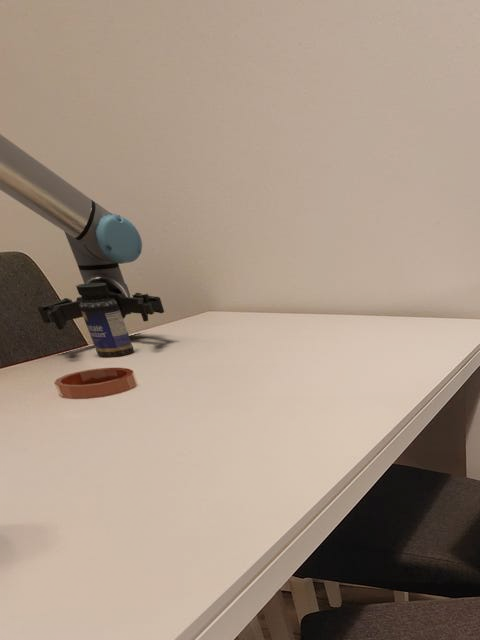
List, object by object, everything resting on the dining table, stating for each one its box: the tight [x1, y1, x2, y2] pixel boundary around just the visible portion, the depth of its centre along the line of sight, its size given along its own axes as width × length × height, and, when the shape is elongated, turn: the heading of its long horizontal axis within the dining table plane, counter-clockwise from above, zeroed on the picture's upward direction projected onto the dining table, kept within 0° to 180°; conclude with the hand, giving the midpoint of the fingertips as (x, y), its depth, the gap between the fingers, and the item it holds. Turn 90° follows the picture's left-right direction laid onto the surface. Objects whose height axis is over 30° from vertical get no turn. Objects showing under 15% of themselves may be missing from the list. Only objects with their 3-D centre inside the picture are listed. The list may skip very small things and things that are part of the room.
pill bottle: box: [75, 283, 134, 358], centre depth 105 cm, size 6×6×11 cm
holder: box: [54, 367, 139, 400], centre depth 83 cm, size 10×10×4 cm
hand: (100, 316), depth 102 cm, fingers open, 13 cm apart
